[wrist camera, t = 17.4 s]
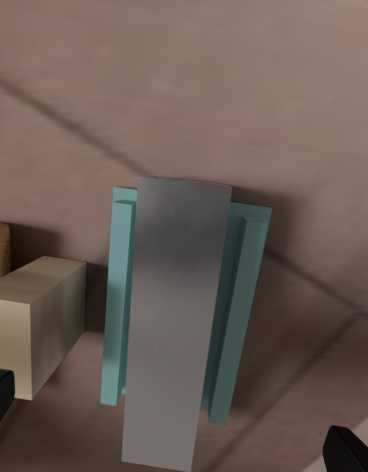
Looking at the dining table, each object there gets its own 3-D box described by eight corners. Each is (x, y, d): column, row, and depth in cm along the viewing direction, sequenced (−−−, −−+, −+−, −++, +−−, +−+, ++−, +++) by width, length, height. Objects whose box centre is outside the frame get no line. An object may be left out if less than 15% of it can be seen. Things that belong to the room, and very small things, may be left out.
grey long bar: (193, 409, 14) (190, 472, 11) (138, 401, 14) (121, 461, 11) (224, 183, 11) (232, 187, 8) (155, 176, 11) (138, 176, 8)
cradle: (104, 382, 14) (91, 410, 13) (117, 186, 12) (103, 188, 10) (228, 403, 14) (231, 434, 12) (269, 207, 11) (280, 212, 10)
